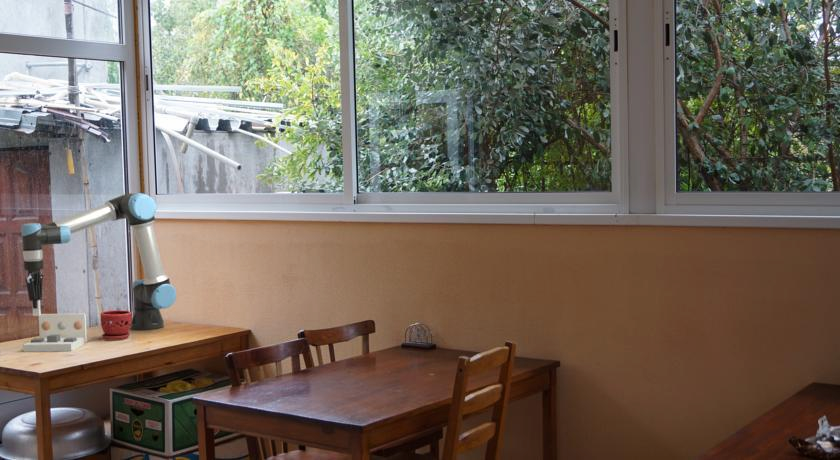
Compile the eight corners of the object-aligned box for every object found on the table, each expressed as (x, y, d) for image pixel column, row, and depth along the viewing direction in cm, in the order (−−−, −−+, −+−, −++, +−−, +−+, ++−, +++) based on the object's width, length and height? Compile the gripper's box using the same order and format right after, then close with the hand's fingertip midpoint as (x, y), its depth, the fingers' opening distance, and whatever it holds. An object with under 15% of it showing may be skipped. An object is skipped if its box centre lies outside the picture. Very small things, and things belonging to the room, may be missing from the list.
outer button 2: (44, 345, 397) (43, 338, 397) (40, 346, 393) (40, 339, 393) (34, 345, 397) (34, 338, 397) (30, 346, 393) (30, 339, 393)
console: (83, 344, 402) (83, 337, 402) (71, 351, 388) (70, 343, 388) (37, 345, 403) (37, 338, 402) (23, 351, 389) (23, 344, 388)
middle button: (60, 341, 397) (60, 334, 397) (56, 343, 393) (56, 336, 393) (51, 341, 397) (50, 334, 397) (47, 343, 393) (46, 336, 393)
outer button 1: (77, 344, 397) (76, 337, 397) (73, 346, 393) (73, 339, 393) (67, 344, 397) (67, 337, 397) (63, 346, 393) (63, 339, 393)
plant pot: (108, 342, 406) (107, 315, 405) (96, 338, 416) (95, 312, 415) (137, 338, 414) (136, 311, 414) (124, 334, 424) (123, 308, 423)
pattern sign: (88, 342, 408) (87, 312, 407) (84, 344, 403) (82, 314, 402) (42, 342, 408) (41, 313, 407) (38, 345, 403) (36, 315, 402)
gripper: (31, 258, 399) (34, 313, 401) (17, 262, 386) (21, 318, 388) (48, 258, 399) (52, 312, 401) (35, 261, 386) (39, 318, 388)
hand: (36, 315), depth 395 cm, fingers closed
